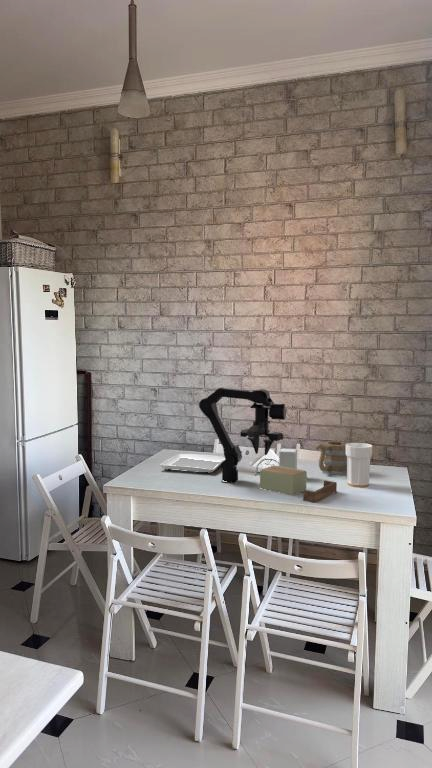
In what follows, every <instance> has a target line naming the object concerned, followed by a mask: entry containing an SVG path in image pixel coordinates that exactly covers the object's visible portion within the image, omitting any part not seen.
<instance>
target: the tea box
mask: <svg viewBox="0 0 432 768" xmlns="http://www.w3.org/2000/svg"><path fill="white" fill-rule="evenodd" d="M307 473H308V471H306V470H304V469H299V468H297V469H293V468H288V467H282V466H279V465H271V466H269V467H265V468H262V469H261V470H260V471H259V489H260V488H262V489H261V490H264V489H266V490H265V491H269V490H271V491H270V492H274V491H275V492H274V493H278V492H280V494H283V493H284V495H290V496H295V495H297V494H299V493H301V492H302V493H303V490H307V480H308V478H307Z"/></svg>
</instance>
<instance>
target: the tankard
mask: <svg viewBox="0 0 432 768" xmlns="http://www.w3.org/2000/svg"><path fill="white" fill-rule="evenodd" d="M347 443H348V442H345V441H339V440H338V441H336V440H334V441H332V440H330V441H326V442H325V445H323V444H322V443H317V444H316V445H315V447H314V448H315V450H318V451H319V450H320V456H319V458H318V466H319V469H320V471H322V474H326V475H329V476H339V477H340V476H342V477H343V476H347V456H346V444H347Z"/></svg>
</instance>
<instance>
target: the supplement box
mask: <svg viewBox="0 0 432 768" xmlns="http://www.w3.org/2000/svg"><path fill="white" fill-rule="evenodd" d="M278 453H279V457H278V458H279V463H278V466H282V467H288V468H293V469H298V456H297V455H298V449H297V448H281V449H280V450H279V451H278Z"/></svg>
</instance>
